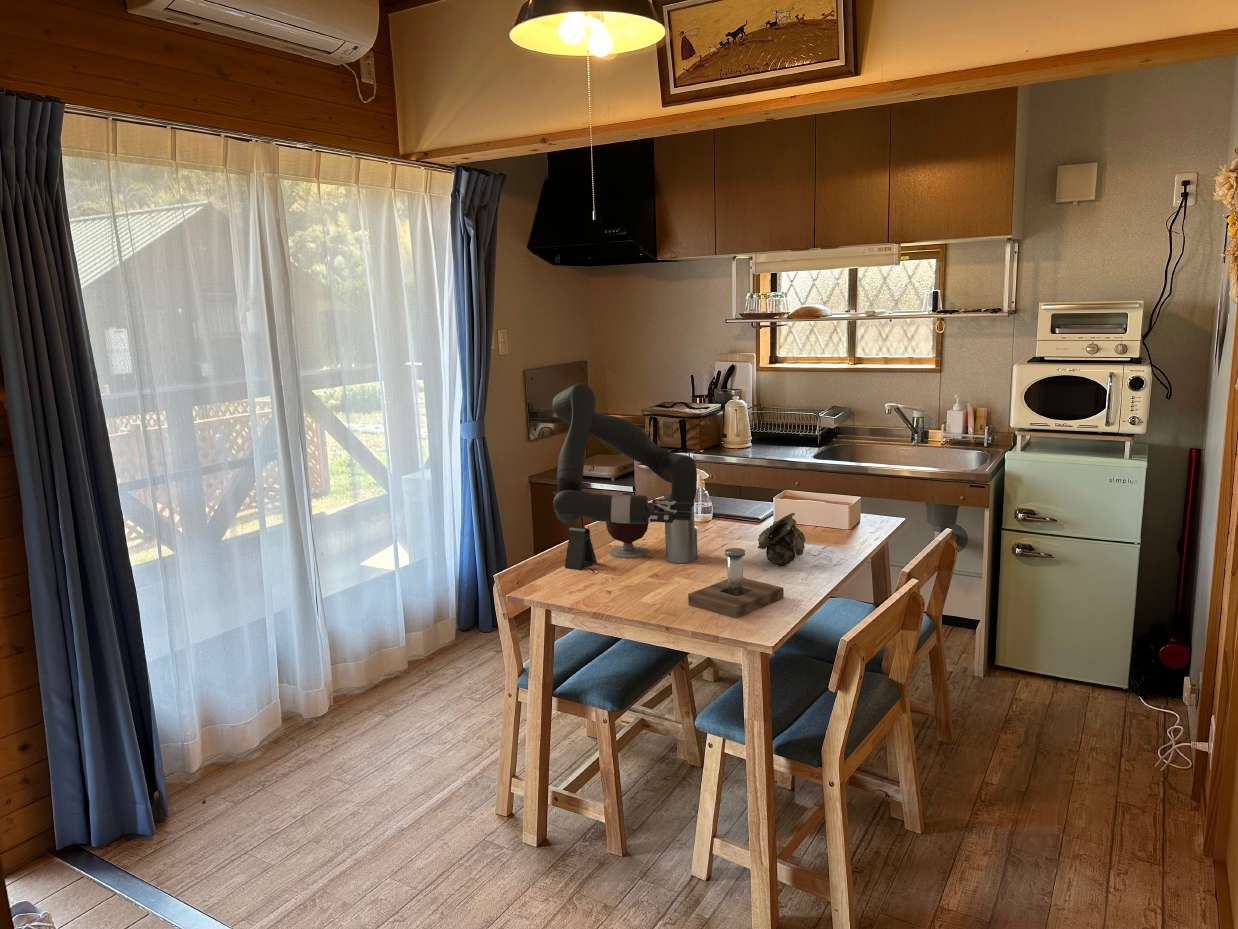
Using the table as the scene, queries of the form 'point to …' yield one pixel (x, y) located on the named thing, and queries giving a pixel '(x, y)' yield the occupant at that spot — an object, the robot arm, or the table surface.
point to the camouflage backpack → (782, 541)
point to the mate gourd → (627, 538)
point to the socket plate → (735, 598)
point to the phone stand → (579, 549)
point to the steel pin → (735, 570)
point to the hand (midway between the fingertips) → (690, 511)
